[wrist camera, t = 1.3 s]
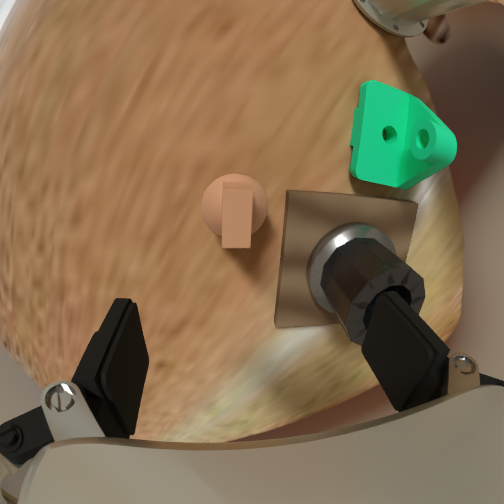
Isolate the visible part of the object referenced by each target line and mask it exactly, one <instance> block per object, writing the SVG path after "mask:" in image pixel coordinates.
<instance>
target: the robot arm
mask: <svg viewBox="0 0 504 504" xmlns="http://www.w3.org/2000/svg"><path fill="white" fill-rule="evenodd" d="M353 1H354V3H355V4H356V5H357V7H358V8H359V9H360V11H361V12H362V13H363V14H364V15H365V16H366V17H367V18H368V19H369V20H370V21H372V22H373V23H374V24H376V25H377V26H378V27H380V28H382V29H383V30H385V31H387V32H389V33H391V34H394V35H397V36H400V37H413V36H416V35H419V34H421V33H422V32H423V31H424V30H425V29H426V27H427V24H428V19H430V18H433V17H435V16H438V15H441V14H444V13H447V12H450V11H453V10H456V9H459V8H463V7H466V6H470V5H473V4H477V3H481V2H485V1H489V0H353ZM449 351H450V349H449V348H448V347H447V346H446V345H445V343H444V342H443V341H442V340H441V339H440V338H439V337H438V336H437V334H436V333H435V332H434V331H433V330H432V329H431V328H430V327H429V326H428V325H427V324H426V322H425V321H424V320H423V319H422V318H421V317H420V316H419V315H418V314H417V313H416V312H415V311H414V310H413V309H412V308H411V307H410V306H409V305H408V304H407V303H406V302H405V300H404V299H403V298H402V297H401V296H400V295H399V294H398V293H397V292H395V291H390V292H382V293H381V294H380V296H378V297H377V300H376V303H375V306H374V310H373V313H372V316H371V320H370V323H369V326H368V329H367V332H366V335H365V338H364V341H363V344H362V353H363V355H364V357H365V359H366V360H367V362H368V364H369V366H370V367H371V369H372V371H373V372H374V374H375V376H376V377H377V379H378V381H379V383H380V384H381V386H382V388H383V390H384V391H385V393H386V395H387V396H388V398H389V400H390V402H391V404H392V405H393V407H394V409H395V410H397V411H399V413H396V414H393V415H390V416H386V417H383V418H380V419H376V420H373V421H369V422H366V423H361V424H357V425H353V426H349V427H345V428H341V429H336V430H331V431H326V432H321V433H315V434H309V435H304V436H296V437H289V438H281V439H273V440H262V441H249V442H230V443H183V442H162V441H149V440H138V439H129V437H130V435H134V433H135V429H136V423H137V418H138V412H139V407H140V402H141V398H142V393H143V388H144V383H145V379H146V374H147V370H148V366H149V356H148V352H147V348H146V344H145V340H144V336H143V331H142V327H141V322H140V317H139V312H138V307H137V304H136V303H132V300H131V299H127V298H116V299H115V300H114V302H113V304H112V306H111V308H110V310H109V311H108V313H107V315H106V317H105V319H104V321H103V323H102V325H101V327H100V329H99V331H97V332H95V333H94V335H93V336H92V338H91V340H90V342H89V344H88V346H87V348H86V350H85V352H84V354H83V357H82V359H81V361H80V363H79V365H78V367H77V369H76V372H75V374H74V376H73V378H72V380H71V382H70V381H57V382H54V383H52V384H50V385H48V386H47V387H46V388H45V389H44V391H43V393H42V396H41V406H40V407H37V408H35V409H33V410H31V411H29V412H27V413H25V414H23V415H20V416H18V417H16V418H13V419H11V420H9V421H7V422H5V423H3V424H2V425H1V426H0V504H504V381H502V380H499V379H496V378H493V377H490V376H487V375H484V374H480V373H479V367H478V364H477V363H476V361H475V360H474V359H473V358H472V357H471V356H469V355H467V354H464V353H454V354H452V355H451V356H450V358H448V357H447V355H448V353H449Z"/></svg>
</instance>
